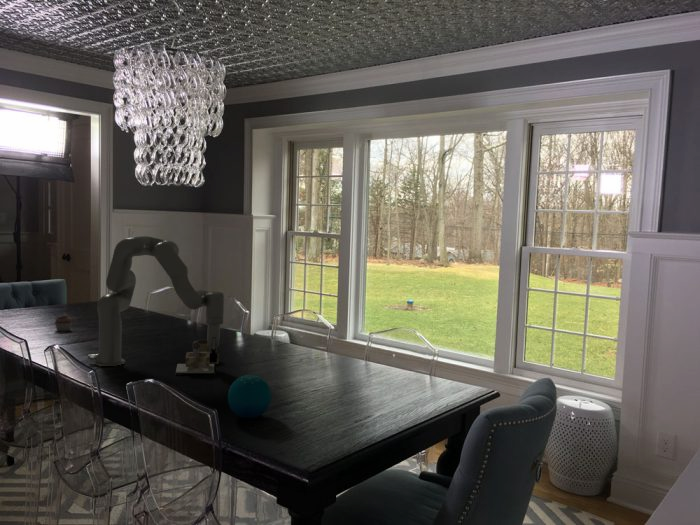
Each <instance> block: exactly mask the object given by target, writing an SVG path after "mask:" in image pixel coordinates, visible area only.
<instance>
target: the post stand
mask: <svg viewBox="0 0 700 525" xmlns="http://www.w3.org/2000/svg"><path fill="white" fill-rule="evenodd" d="M191 348H192V350H193V351H192V352H193V357H199V348H200V343H199V342H198V340H195V341H193V342H192V344H191ZM176 373H214V374H215V364H209V366H200V367H186V363H177V365H176V370H175V374H176Z"/></svg>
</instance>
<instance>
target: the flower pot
mask: <svg viewBox="0 0 700 525" xmlns="http://www.w3.org/2000/svg"><path fill="white" fill-rule="evenodd" d="M197 341H198V342H199V343H200V348H199V352H210V346H209V347H208V346H207V339H198V340H197Z"/></svg>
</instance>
